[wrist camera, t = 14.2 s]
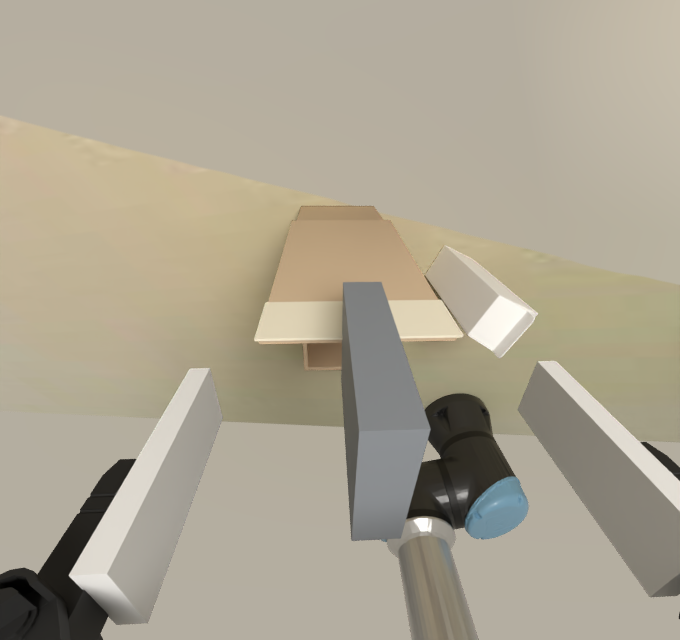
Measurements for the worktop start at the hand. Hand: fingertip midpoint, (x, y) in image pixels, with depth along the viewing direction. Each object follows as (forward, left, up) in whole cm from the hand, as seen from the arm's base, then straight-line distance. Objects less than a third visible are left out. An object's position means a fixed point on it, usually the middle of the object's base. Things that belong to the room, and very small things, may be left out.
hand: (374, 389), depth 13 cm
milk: (-10, -19, -40) cm, 46 cm away
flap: (-4, 0, -12) cm, 13 cm away
